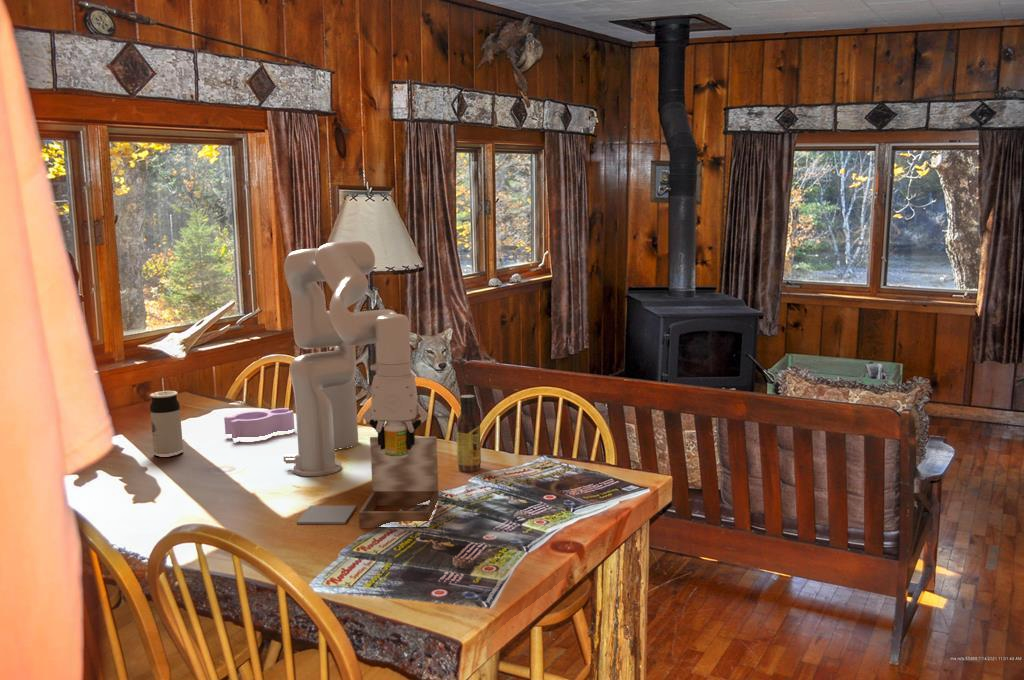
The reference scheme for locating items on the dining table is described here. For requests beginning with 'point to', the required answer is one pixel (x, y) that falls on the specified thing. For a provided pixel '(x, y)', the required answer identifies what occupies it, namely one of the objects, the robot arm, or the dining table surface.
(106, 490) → the dining table surface
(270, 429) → the lilac molded tray
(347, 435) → the cylinder vase
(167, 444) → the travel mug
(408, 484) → the open wooden keepsake box
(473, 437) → the sauce bottle
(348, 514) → the slate mat
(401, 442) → the supplement bottle
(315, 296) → the robot arm
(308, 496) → the dining table surface
